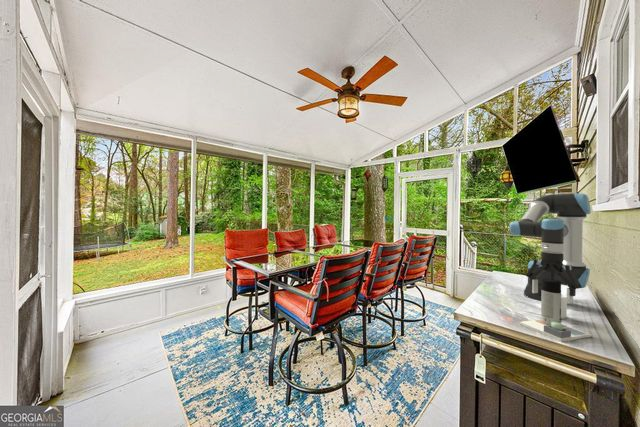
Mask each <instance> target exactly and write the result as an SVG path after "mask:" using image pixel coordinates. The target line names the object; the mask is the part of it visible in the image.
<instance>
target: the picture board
mask: <svg viewBox="0 0 640 427" xmlns="http://www.w3.org/2000/svg"><path fill="white" fill-rule="evenodd" d="M518 323H519V325H520V326H524V327H526V328H528V329H531V330H532V331H535V332H538V333H539V334H543V335H544V336H547V337H549V338H552V339H554V340H557V341H559V342H567V341H574V340H579V339H584V338H586V339H587V338H591V337H592V334H591V333H588V332H585V331H582V330H580V329H577V328H574V327H573V326H572V327H571V326H570V325H567V324H564V323H562V324H563V331H558V330H556V329H553V328H551V325H548V324H545V323H543V322H542V321H541V318H539V319H533V320H523V321H519V322H518Z"/></svg>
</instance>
